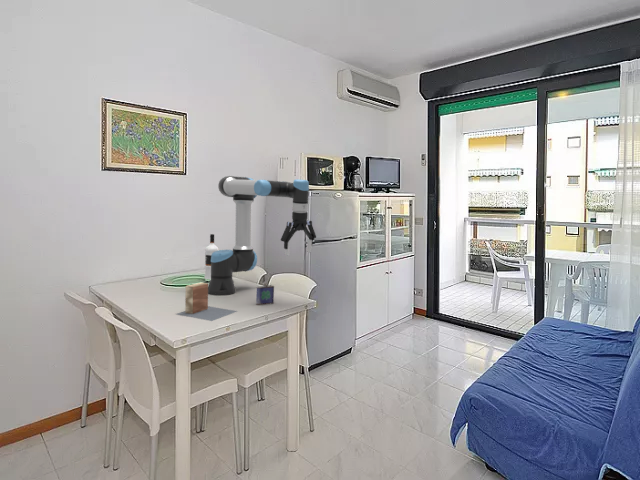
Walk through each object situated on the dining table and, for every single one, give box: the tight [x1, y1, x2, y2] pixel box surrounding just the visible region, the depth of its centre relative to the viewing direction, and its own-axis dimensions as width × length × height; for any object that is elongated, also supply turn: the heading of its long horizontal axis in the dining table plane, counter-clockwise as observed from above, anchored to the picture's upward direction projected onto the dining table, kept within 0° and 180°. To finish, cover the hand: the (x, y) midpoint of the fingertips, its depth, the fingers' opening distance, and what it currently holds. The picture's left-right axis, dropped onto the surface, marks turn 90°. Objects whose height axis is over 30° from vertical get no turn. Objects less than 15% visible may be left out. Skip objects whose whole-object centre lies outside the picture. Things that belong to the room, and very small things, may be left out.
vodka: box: [203, 233, 219, 279], centre depth 249 cm, size 9×9×30 cm
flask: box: [255, 282, 275, 306], centre depth 198 cm, size 9×3×11 cm, turn 121°
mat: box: [176, 305, 238, 322], centre depth 177 cm, size 20×18×1 cm
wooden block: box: [184, 282, 209, 314], centre depth 178 cm, size 4×10×12 cm, turn 156°
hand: (298, 253), depth 197 cm, fingers open, 13 cm apart
